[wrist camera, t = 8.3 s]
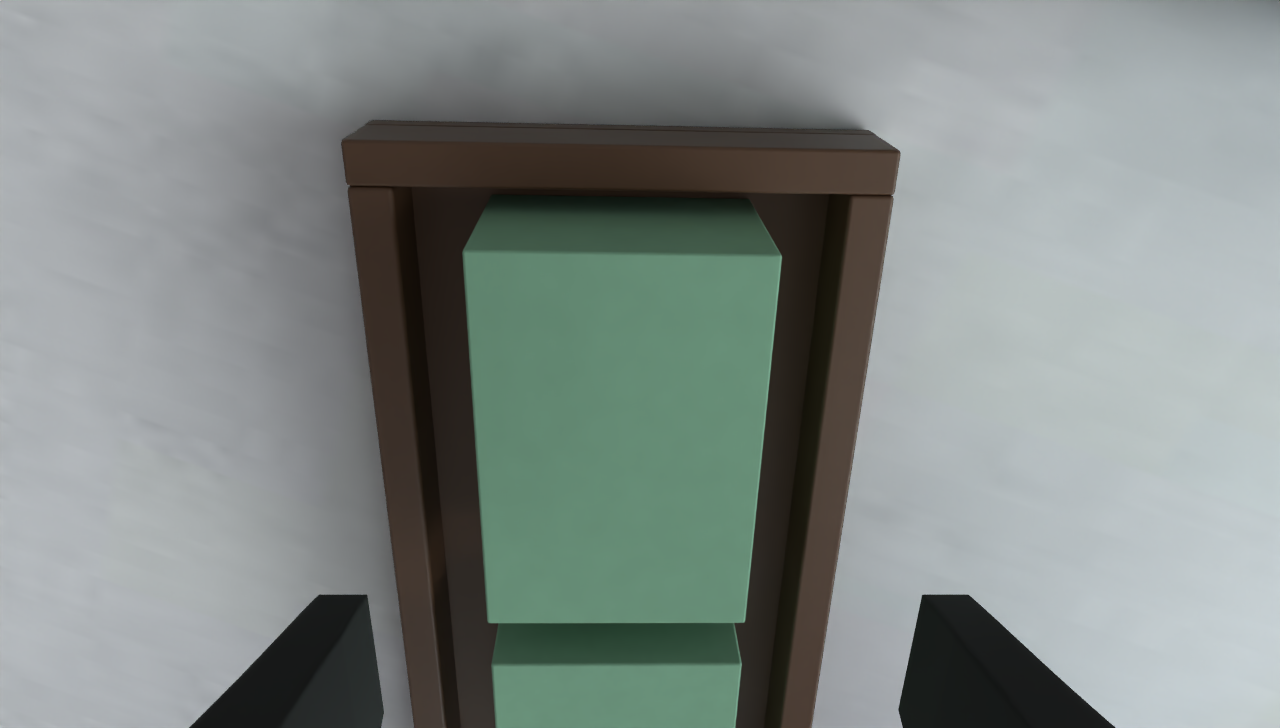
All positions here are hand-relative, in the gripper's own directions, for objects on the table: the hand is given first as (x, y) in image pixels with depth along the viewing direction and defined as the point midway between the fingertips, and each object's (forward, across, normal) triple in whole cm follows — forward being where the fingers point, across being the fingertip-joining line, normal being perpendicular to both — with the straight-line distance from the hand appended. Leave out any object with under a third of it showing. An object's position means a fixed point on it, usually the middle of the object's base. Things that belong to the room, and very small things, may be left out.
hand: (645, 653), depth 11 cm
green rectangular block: (+8, 0, 0) cm, 8 cm away
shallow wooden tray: (+8, 0, +4) cm, 9 cm away
